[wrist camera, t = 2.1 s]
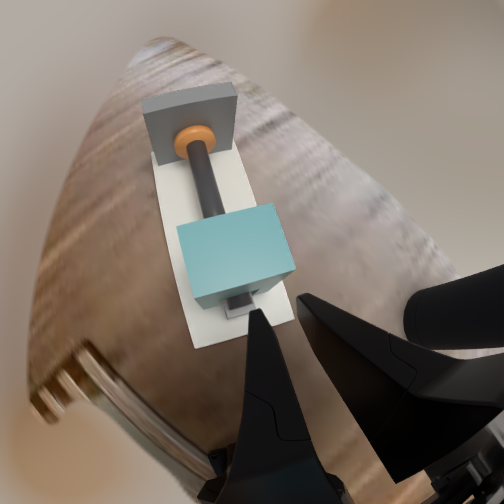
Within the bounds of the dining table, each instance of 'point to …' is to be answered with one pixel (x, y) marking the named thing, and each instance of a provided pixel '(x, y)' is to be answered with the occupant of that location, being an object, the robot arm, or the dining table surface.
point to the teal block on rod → (235, 254)
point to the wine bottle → (459, 313)
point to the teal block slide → (204, 196)
